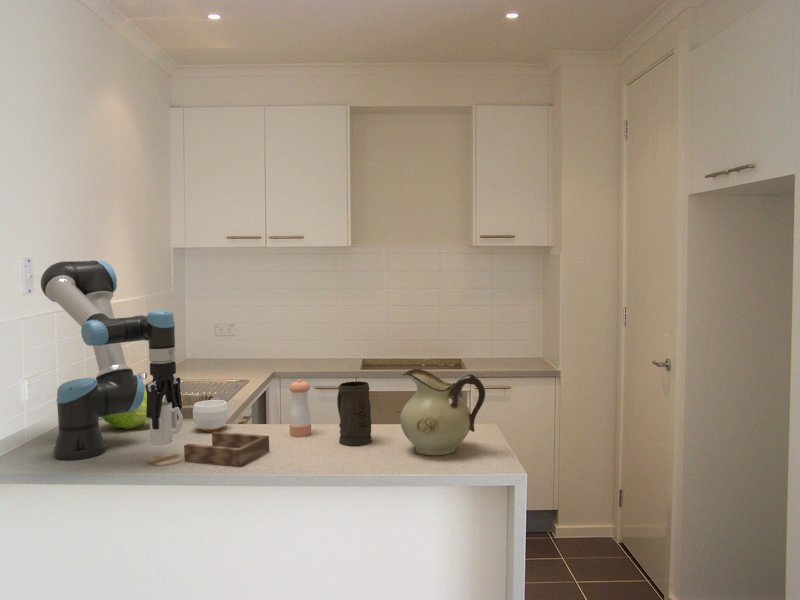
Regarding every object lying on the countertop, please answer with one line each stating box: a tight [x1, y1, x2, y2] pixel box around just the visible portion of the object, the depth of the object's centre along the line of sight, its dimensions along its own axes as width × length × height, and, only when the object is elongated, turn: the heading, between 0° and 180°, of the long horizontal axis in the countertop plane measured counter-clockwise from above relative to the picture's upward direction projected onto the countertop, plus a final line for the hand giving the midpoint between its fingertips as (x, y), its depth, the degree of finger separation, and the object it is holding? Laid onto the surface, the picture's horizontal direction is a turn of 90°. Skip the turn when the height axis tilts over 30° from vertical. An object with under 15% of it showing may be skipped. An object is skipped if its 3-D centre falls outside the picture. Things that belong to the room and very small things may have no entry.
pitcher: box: [399, 368, 486, 456], centre depth 219 cm, size 22×24×25 cm
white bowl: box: [192, 399, 229, 433], centre depth 250 cm, size 12×12×10 cm
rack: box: [183, 431, 270, 468], centre depth 217 cm, size 20×17×5 cm
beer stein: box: [336, 380, 373, 447], centre depth 232 cm, size 15×11×20 cm
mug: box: [148, 401, 184, 446], centre depth 213 cm, size 10×7×12 cm, turn 89°
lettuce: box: [102, 389, 149, 430], centre depth 255 cm, size 17×20×15 cm
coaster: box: [148, 453, 185, 466], centre depth 213 cm, size 10×10×1 cm
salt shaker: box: [288, 379, 312, 438], centre depth 241 cm, size 7×7×19 cm
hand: (165, 436), depth 213 cm, fingers closed on mug, 7 cm apart
